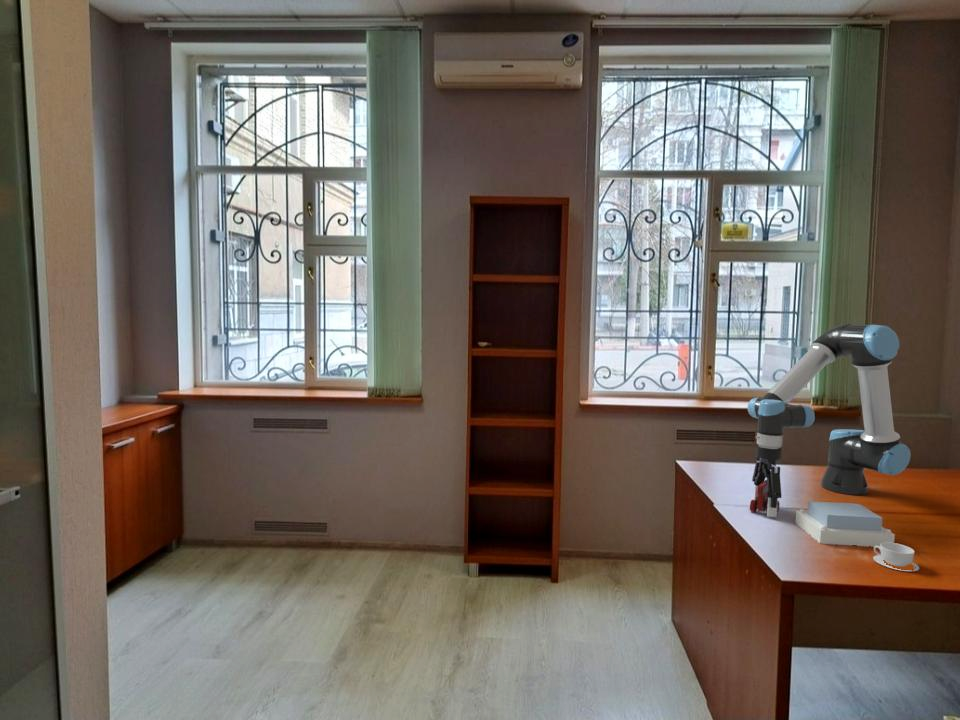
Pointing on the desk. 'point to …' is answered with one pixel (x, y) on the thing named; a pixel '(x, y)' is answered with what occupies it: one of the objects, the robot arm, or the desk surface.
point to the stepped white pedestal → (843, 524)
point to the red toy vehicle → (761, 499)
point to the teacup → (895, 555)
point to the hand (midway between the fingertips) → (764, 510)
